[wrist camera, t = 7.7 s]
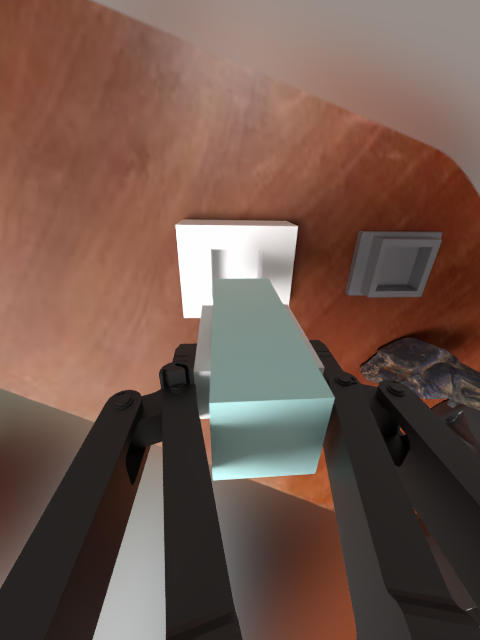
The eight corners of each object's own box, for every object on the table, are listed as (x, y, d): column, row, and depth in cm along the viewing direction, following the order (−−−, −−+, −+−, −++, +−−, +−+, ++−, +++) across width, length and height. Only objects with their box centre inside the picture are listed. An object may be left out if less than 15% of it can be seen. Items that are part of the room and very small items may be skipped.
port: (286, 220, 30) (298, 226, 25) (278, 300, 34) (287, 316, 30) (182, 219, 29) (175, 224, 24) (188, 300, 33) (183, 317, 29)
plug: (268, 278, 19) (334, 397, 8) (265, 325, 21) (315, 473, 10) (214, 278, 18) (209, 402, 8) (215, 326, 20) (212, 480, 10)
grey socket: (436, 231, 32) (456, 235, 29) (414, 292, 35) (430, 300, 33) (358, 230, 31) (371, 234, 28) (344, 292, 34) (355, 301, 32)
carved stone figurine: (352, 355, 40) (419, 440, 26) (428, 321, 38) (543, 393, 24) (361, 379, 42) (427, 468, 29) (434, 348, 40) (541, 427, 27)
